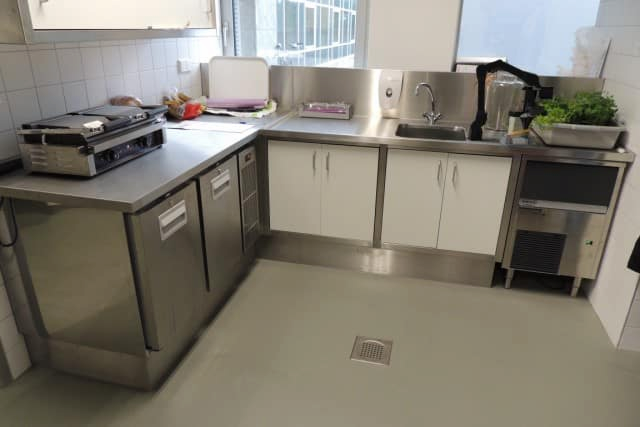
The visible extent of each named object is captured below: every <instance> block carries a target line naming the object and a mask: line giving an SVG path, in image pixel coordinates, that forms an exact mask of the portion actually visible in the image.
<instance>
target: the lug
mask: <svg viewBox="0 0 640 427" xmlns="http://www.w3.org/2000/svg"><path fill="white" fill-rule="evenodd" d="M527 137H528V139H527V140H528V144H533V143H534V140H535V135H532V134H531V135H530V134H529V135H527Z"/></svg>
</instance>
